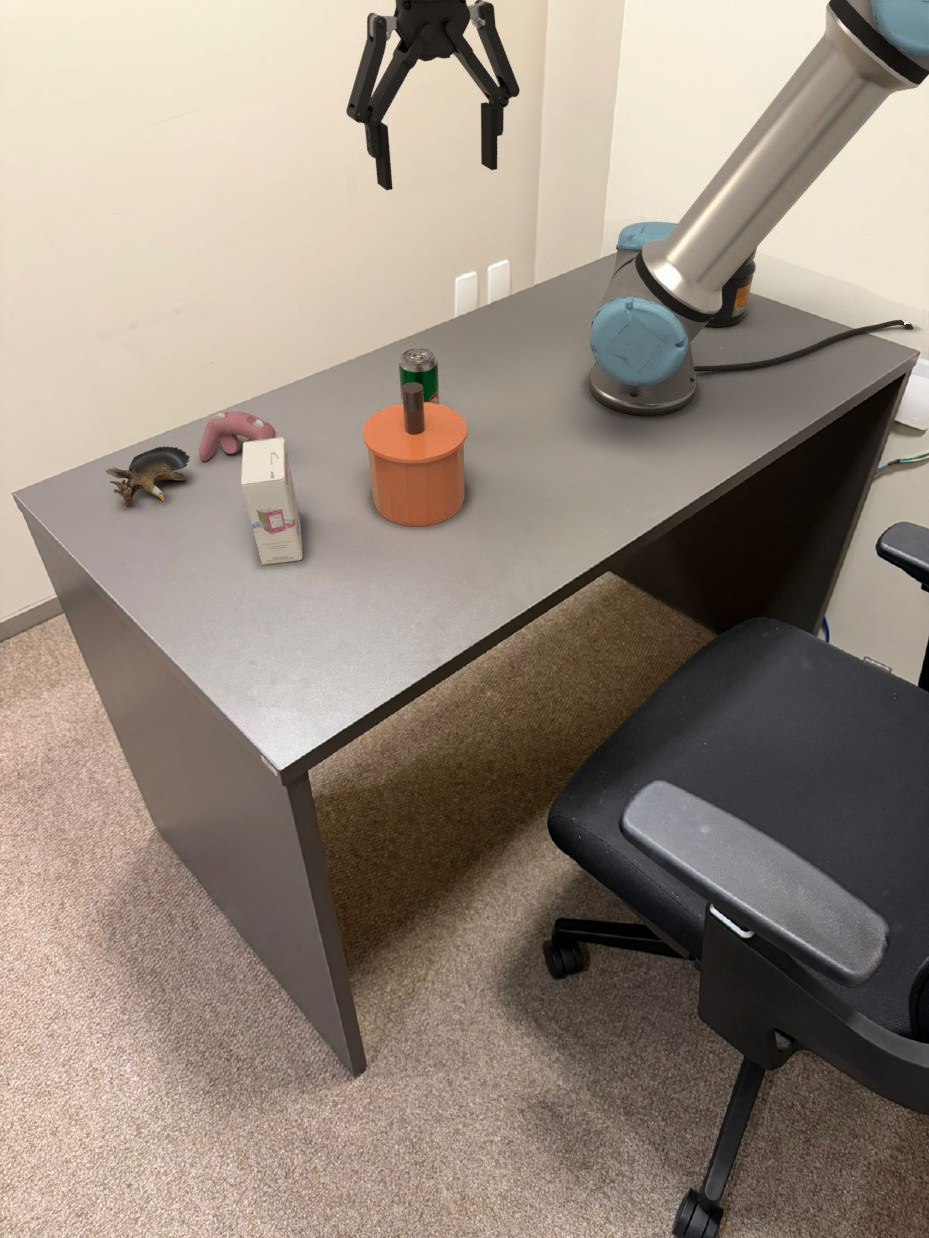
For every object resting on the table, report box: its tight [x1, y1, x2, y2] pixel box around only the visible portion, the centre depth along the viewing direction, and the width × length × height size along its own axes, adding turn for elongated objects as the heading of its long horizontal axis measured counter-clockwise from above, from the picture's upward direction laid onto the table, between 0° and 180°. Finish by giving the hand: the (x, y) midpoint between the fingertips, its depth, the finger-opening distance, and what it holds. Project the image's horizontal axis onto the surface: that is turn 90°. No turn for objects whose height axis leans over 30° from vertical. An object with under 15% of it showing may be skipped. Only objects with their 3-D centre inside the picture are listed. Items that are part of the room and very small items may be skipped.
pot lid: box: [362, 382, 468, 463], centre depth 100 cm, size 12×12×7 cm
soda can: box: [398, 347, 440, 405], centre depth 115 cm, size 5×5×12 cm
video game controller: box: [198, 411, 277, 462], centre depth 114 cm, size 10×5×7 cm, turn 71°
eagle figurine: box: [104, 445, 191, 507], centre depth 108 cm, size 8×7×9 cm
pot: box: [367, 443, 465, 527], centre depth 106 cm, size 11×11×10 cm
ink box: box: [240, 436, 303, 566], centre depth 99 cm, size 9×5×12 cm, turn 9°
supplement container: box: [705, 247, 758, 328], centre depth 140 cm, size 10×10×12 cm
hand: (438, 176), depth 101 cm, fingers open, 13 cm apart
